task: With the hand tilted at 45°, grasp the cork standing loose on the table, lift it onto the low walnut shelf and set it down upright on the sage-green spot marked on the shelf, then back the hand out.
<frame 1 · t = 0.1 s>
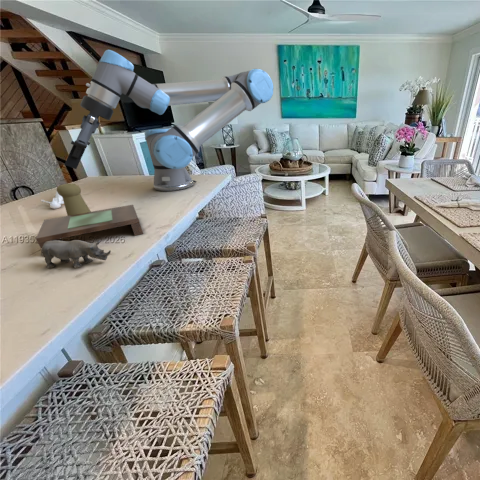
hand: (71, 163, 83), 15 cm above the counter, tool tilted 35°, fingers open, 13 cm apart
shelf: (98, 234, 72), on the counter
woman figurine: (63, 202, 97), on the counter
rhino figurine: (83, 264, 59), on the counter
cork: (82, 219, 82), on the counter
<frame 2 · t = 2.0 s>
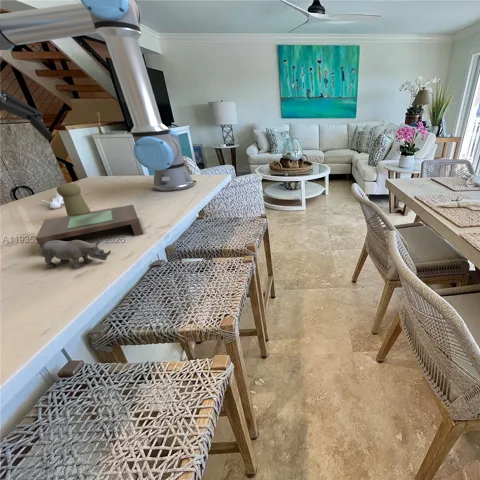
hand: (21, 139, 75), 23 cm above the counter, tool tilted 45°, fingers open, 13 cm apart
nothing on the counter moved.
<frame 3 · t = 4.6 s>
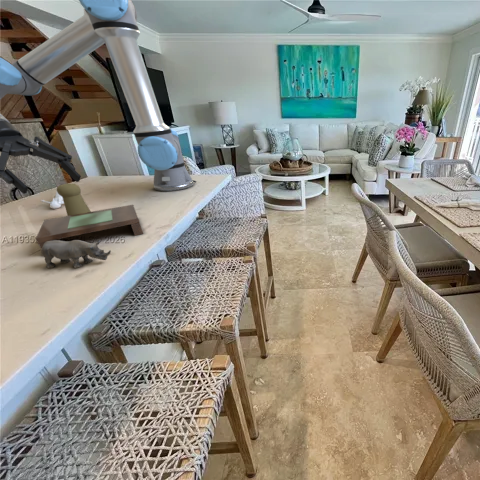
hand: (54, 184, 79), 11 cm above the counter, tool tilted 45°, fingers open, 13 cm apart
nothing on the counter moved.
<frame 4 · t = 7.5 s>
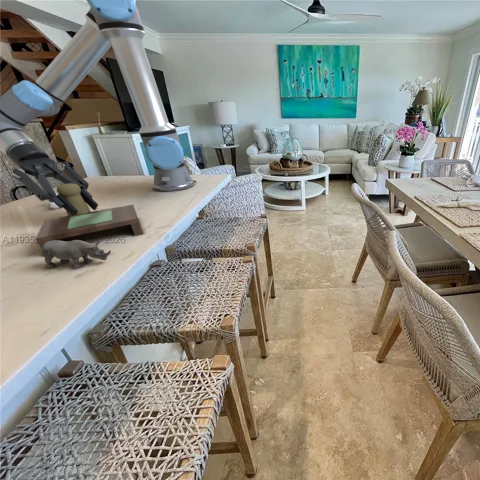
hand: (85, 210, 80), 3 cm above the counter, tool tilted 45°, fingers closed on cork, 5 cm apart
cork: (82, 219, 82), on the counter, touching gripper
everything else where it was.
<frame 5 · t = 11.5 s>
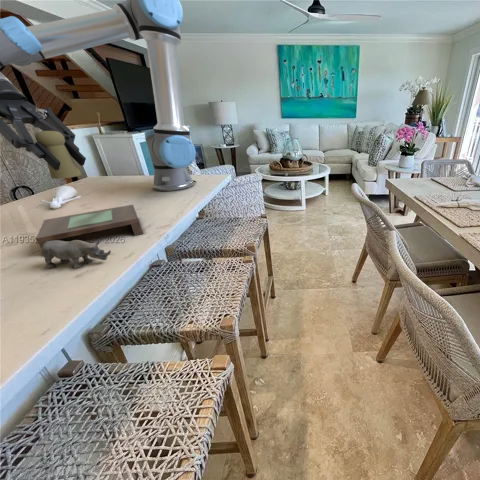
hand: (71, 164, 67), 18 cm above the counter, tool tilted 45°, fingers closed on cork, 5 cm apart
cork: (67, 176, 70), point 15 cm above the counter, touching gripper
everything else where it was.
when the fingers open (8 cm above the counter, at t = 15.6 s): cork stays where it is, resting on shelf.
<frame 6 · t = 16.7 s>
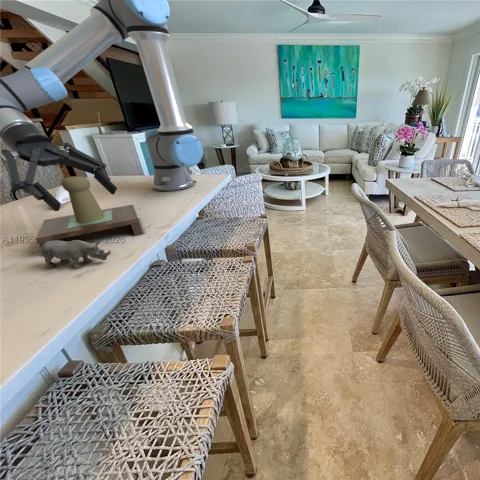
hand: (89, 198, 67), 10 cm above the counter, tool tilted 45°, fingers open, 13 cm apart
cork: (91, 218, 70), point 5 cm above the counter, touching shelf
everything else where it was.
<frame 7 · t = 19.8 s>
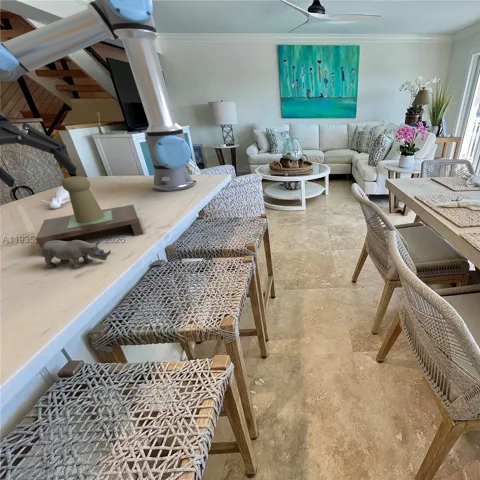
hand: (45, 176, 69), 15 cm above the counter, tool tilted 45°, fingers open, 13 cm apart
nothing on the counter moved.
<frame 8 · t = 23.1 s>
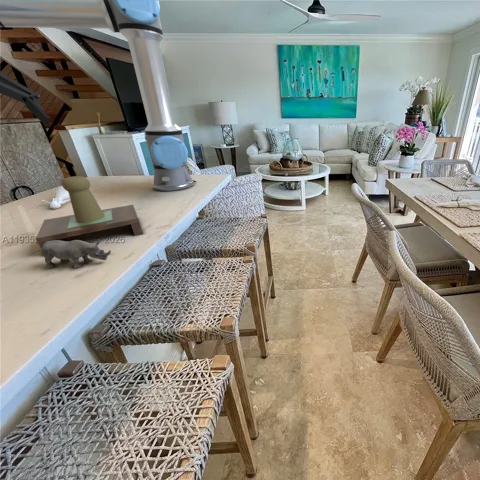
hand: (15, 123, 64), 28 cm above the counter, tool tilted 45°, fingers open, 13 cm apart
nothing on the counter moved.
at the end: cork inside the target area on the shelf (0.1 cm from its centre), point 4.6 cm above the shelf's base; cork tilted 0°; the gripper is holding nothing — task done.
